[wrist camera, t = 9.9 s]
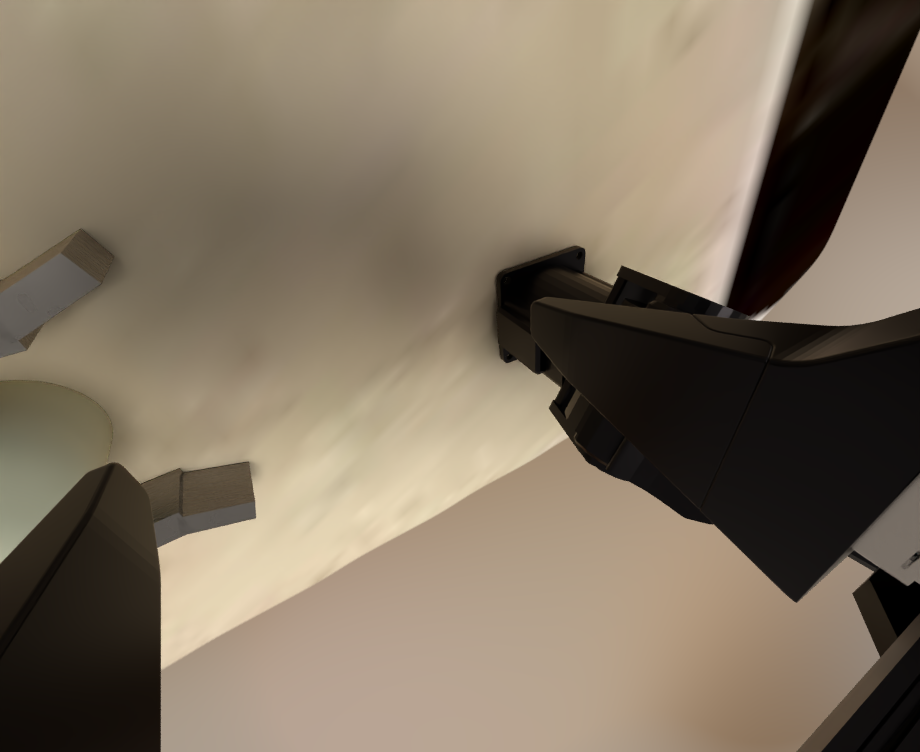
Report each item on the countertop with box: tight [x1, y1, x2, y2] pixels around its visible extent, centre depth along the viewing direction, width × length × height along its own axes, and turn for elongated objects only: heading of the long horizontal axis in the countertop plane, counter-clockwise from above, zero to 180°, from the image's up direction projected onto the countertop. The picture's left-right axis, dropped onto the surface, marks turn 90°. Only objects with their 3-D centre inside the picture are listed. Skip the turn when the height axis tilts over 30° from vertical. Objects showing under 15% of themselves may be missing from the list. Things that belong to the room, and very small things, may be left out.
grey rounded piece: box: [0, 380, 113, 563], centre depth 14 cm, size 5×5×7 cm
